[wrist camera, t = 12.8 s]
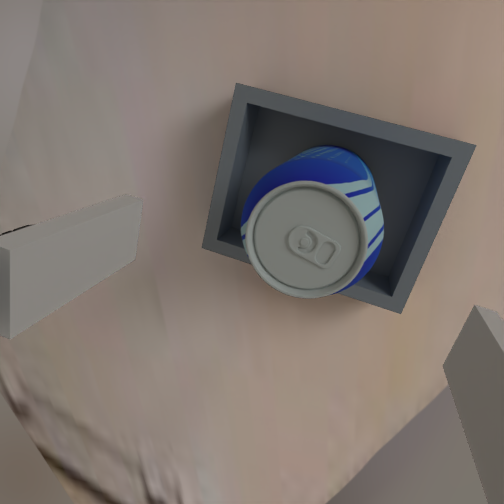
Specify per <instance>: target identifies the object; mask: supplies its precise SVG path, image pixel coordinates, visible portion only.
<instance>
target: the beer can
mask: <svg viewBox="0 0 504 504" xmlns="http://www.w3.org/2000/svg"><path fill="white" fill-rule="evenodd" d="M241 236H242V241H243V245H244V248H245V251H246V253H247V256H248V258H249V260H250V262H251V264H252V266H253V267H254V269H255V270H256V272H257V273H258V275H259V276H260V277H261V278H262V279H263V280H264V281H265V282H266V283H267V284H268V285H270V286H271V287H273V288H274V289H276V290H277V291H279V292H281V293H284V294H286V295H289V296H293V297H297V298H309V299H310V298H320V297H324V296H328V295H332V294H335V293H338V292H341V291H343V290H345V289H347V288H349V287H351V286H353V285H354V284H355V283H357V282H358V281H359V280H361V279H362V278H363V277H364V276H365V275H366V274H367V273H368V272H369V270H370V269H371V268H372V266H373V265H374V263H375V261H376V259H377V257H378V255H379V252H380V250H381V246H382V242H383V236H384V221H383V215H382V210H381V206H380V202H379V198H378V194H377V190H376V186H375V182H374V179H373V176H372V173H371V171H370V169H369V167H368V166H367V165H366V163H365V162H364V161H363V160H362V159H361V158H360V157H359V156H358V155H356V154H355V153H354V152H352V151H350V150H348V149H346V148H343V147H339V146H334V145H321V146H316V147H312V148H309V149H307V150H305V151H303V152H301V153H300V154H298V155H296V156H294V157H293V158H291V159H289V160H288V161H286V162H284V163H283V164H281V165H279V166H277V167H276V168H274V169H273V170H271V171H269V172H268V173H267V174H266V175H264V176H263V177H262V178H261V179H260V180H259V181H258V183H257V184H256V185H255V186H254V188H253V189H252V191H251V192H250V194H249V196H248V198H247V200H246V202H245V205H244V208H243V212H242V217H241Z"/></svg>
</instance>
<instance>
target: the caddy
mask: <svg viewBox="0 0 504 504" xmlns="http://www.w3.org/2000/svg"><path fill="white" fill-rule="evenodd" d="M321 145H334V146H339V147H343V148H346V149H348V150H350V151H352V152H354V153H355V154H356V155H358V156H359V157H360V158H361V159H362V160H363V161H364V162H365V163H366V165H367V166H368V167H369V169H370V171H371V173H372V176H373V179H374V182H375V186H376V190H377V194H378V198H379V202H380V206H381V210H382V215H383V221H384V236H383V242H382V246H381V250H380V252H379V255H378V257H377V259H376V261H375V263H374V265H373V266H372V268H371V269H370V270H369V272H368V273H367V274H366V275H365V276H364V277H363V278H362V279H361V280H359V281H358V282H357V283H355V284H354V285H353V286H351V287H349V288H347V289H345V290H343V291H341V292H338V293H339V294H342V295H345V296H348V297H351V298H354V299H357V300H360V301H363V302H366V303H369V304H372V305H375V306H378V307H381V308H384V309H387V310H390V311H393V312H396V313H399V314H401V313H402V311H403V308H404V306H405V304H406V302H407V299H408V297H409V295H410V293H411V290H412V288H413V286H414V284H415V281H416V279H417V277H418V275H419V273H420V270H421V268H422V266H423V264H424V261H425V259H426V257H427V255H428V252H429V250H430V248H431V246H432V243H433V241H434V239H435V237H436V235H437V232H438V230H439V228H440V226H441V223H442V221H443V219H444V217H445V214H446V212H447V210H448V208H449V206H450V203H451V201H452V199H453V197H454V194H455V192H456V190H457V188H458V185H459V183H460V181H461V179H462V176H463V174H464V172H465V170H466V168H467V165H468V163H469V161H470V159H471V156H472V154H473V152H474V150H475V147H476V145H474V144H470V143H466V142H462V141H458V140H454V139H451V138H447V137H443V136H439V135H435V134H431V133H428V132H424V131H420V130H416V129H412V128H408V127H404V126H401V125H397V124H393V123H389V122H385V121H381V120H377V119H374V118H370V117H366V116H362V115H358V114H354V113H351V112H347V111H343V110H339V109H335V108H331V107H327V106H324V105H320V104H316V103H312V102H308V101H304V100H300V99H297V98H293V97H289V96H285V95H281V94H277V93H274V92H270V91H266V90H262V89H258V88H254V87H250V86H247V85H243V84H239V83H236V85H235V90H234V95H233V100H232V105H231V109H230V114H229V119H228V124H227V129H226V133H225V138H224V143H223V148H222V153H221V158H220V162H219V167H218V172H217V177H216V182H215V186H214V191H213V196H212V201H211V206H210V211H209V215H208V220H207V225H206V230H205V235H204V239H203V244H202V248H204V249H207V250H210V251H213V252H216V253H219V254H222V255H225V256H228V257H231V258H234V259H237V260H240V261H243V262H246V263H249V264H251V262H250V260H249V258H248V256H247V253H246V251H245V248H244V245H243V241H242V236H241V217H242V212H243V208H244V205H245V202H246V200H247V198H248V196H249V194H250V192H251V191H252V189H253V188H254V186H255V185H256V184H257V183H258V181H259V180H260V179H261V178H262V177H263V176H264V175H266V174H267V173H268V172H269V171H271V170H273V169H274V168H276V167H277V166H279V165H281V164H283V163H284V162H286V161H288V160H289V159H291V158H293V157H294V156H296V155H298V154H300V153H301V152H303V151H305V150H307V149H309V148H312V147H316V146H321Z"/></svg>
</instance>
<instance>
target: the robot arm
mask: <svg viewBox="0 0 504 504" xmlns="http://www.w3.org/2000/svg"><path fill="white" fill-rule="evenodd" d="M142 207H143V199H141V198H138V197H135V196H132V195H129V194H125V195H122V196H119V197H116V198H113V199H110V200H107V201H104V202H101V203H98V204H95V205H92V206H89V207H86V208H83V209H80V210H77V211H74V212H71V213H68V214H65V215H62V216H59V217H56V218H53V219H50V220H47V221H44V222H41V223H38V224H34V225H26V226H23V227H20V228H17V229H14V230H13V231H8V232H5V233H2V235H0V336H3V337H5V338H8V339H11V338H13V337H15V336H16V335H18V334H19V333H21V332H22V331H24V330H26V329H27V328H29V327H30V326H32V325H33V324H35V323H37V322H38V321H40V320H41V319H43V318H44V317H46V316H48V315H49V314H51V313H52V312H54V311H55V310H57V309H59V308H60V307H62V306H63V305H65V304H66V303H68V302H70V301H71V300H73V299H74V298H76V297H77V296H79V295H81V294H82V293H84V292H85V291H87V290H88V289H90V288H92V287H93V286H95V285H96V284H98V283H99V282H101V281H103V280H104V279H106V278H107V277H109V276H110V275H112V274H113V273H115V272H117V271H118V270H120V269H121V268H123V267H124V266H126V265H128V264H129V263H131V262H132V261H134V260H135V259H136V251H137V244H138V236H139V229H140V221H141V214H142ZM443 369H444V372H445V375H446V378H447V381H448V384H449V387H450V390H451V393H452V396H453V399H454V402H455V405H456V408H457V411H458V414H459V417H460V420H461V423H462V426H463V429H464V432H465V435H466V438H467V441H468V444H469V447H470V450H471V453H472V456H473V459H474V462H475V465H476V468H477V471H478V474H479V477H480V480H481V483H482V487H483V490H484V493H485V495H486V499H487V502H488V504H504V321H503V320H502V318H501V317H500V315H499V314H498V312H496V311H493V310H490V309H487V308H483V307H480V306H477V305H474V307H473V309H472V311H471V313H470V315H469V317H468V319H467V320H466V322H465V324H464V326H463V328H462V330H461V332H460V334H459V336H458V338H457V339H456V341H455V343H454V345H453V347H452V349H451V351H450V353H449V355H448V357H447V358H446V360H445V362H444V364H443Z"/></svg>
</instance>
